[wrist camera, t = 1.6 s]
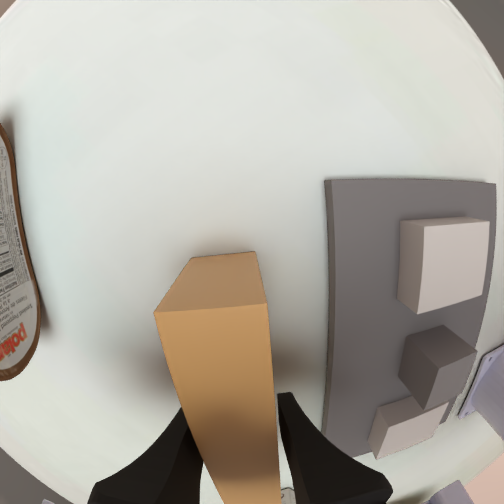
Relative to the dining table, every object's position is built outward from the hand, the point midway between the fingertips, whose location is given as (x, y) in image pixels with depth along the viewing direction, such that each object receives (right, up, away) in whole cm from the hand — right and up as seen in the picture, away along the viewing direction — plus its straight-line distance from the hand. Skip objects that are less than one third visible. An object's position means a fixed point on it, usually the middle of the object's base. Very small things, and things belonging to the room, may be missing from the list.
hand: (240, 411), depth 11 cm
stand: (+11, +2, +3) cm, 11 cm away
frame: (0, +1, +3) cm, 3 cm away
